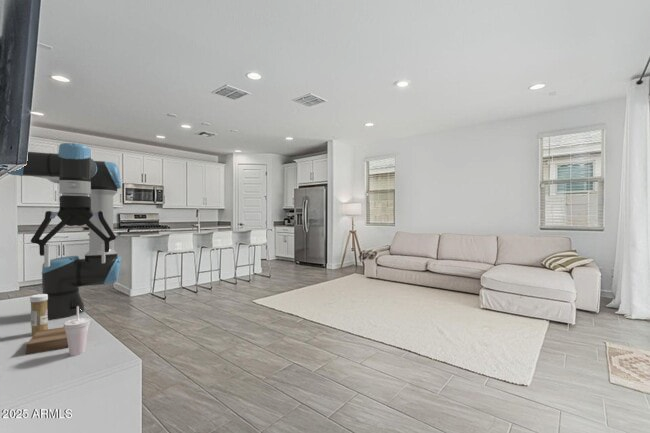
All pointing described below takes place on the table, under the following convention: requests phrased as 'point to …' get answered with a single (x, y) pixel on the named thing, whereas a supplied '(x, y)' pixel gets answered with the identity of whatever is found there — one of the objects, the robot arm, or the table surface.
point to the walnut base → (47, 340)
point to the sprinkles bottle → (39, 313)
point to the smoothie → (77, 334)
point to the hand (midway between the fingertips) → (76, 264)
